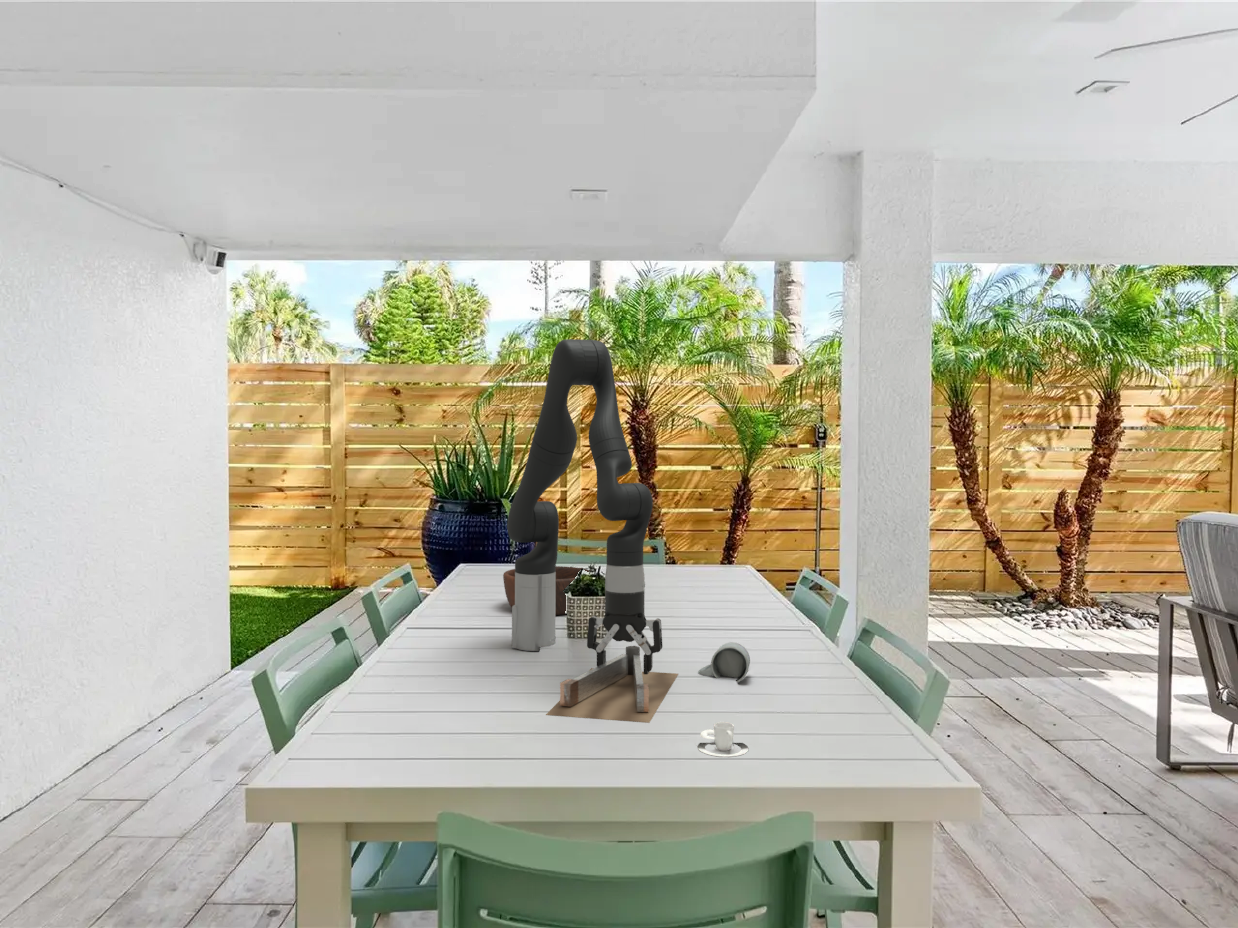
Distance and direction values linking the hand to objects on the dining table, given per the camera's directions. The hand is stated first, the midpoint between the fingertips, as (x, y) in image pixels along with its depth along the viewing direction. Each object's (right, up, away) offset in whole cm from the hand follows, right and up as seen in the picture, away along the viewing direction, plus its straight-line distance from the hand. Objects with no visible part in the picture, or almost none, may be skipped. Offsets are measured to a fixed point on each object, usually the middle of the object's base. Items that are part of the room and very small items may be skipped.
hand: (624, 672), depth 178 cm
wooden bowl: (-20, -1, +80) cm, 82 cm away
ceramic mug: (+20, -4, +8) cm, 22 cm away
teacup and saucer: (+17, -5, -30) cm, 35 cm away
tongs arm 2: (+3, -2, -6) cm, 7 cm away
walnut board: (-1, -4, -6) cm, 7 cm away
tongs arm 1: (-5, -2, -4) cm, 7 cm away
